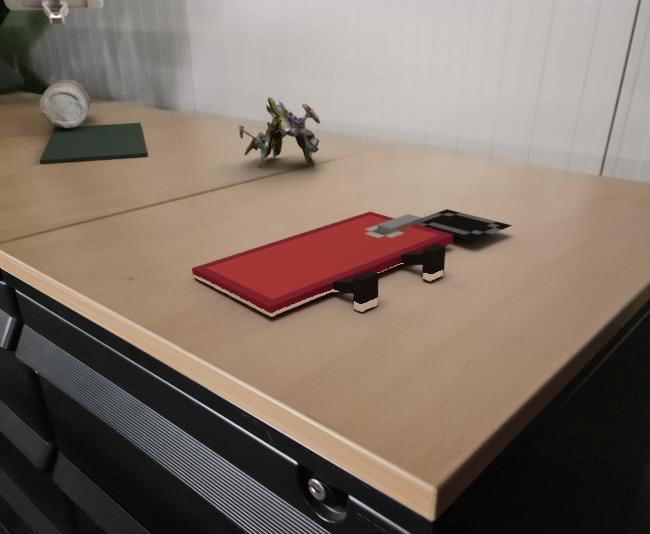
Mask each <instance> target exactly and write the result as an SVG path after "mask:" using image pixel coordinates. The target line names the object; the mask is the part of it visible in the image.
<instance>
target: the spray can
mask: <svg viewBox="0 0 650 534" xmlns="http://www.w3.org/2000/svg"><path fill="white" fill-rule="evenodd" d="M38 103H39V112H40V113H41V115H42V116H43V117H44V118H45V119H46V120H47V121H48V122H49V123H50V124H51V125H52V126H54V127H61V128H74V127H76V126H81V124H83V123H84V122H85V120H86V118H87V115H88V112H89V108H90V105H91V99H90V96H89V94H88V91H87V90H86V89H85V87H83V85H82V84H81V83H80V82H78V81H77V80H74V79H72V78H62V79H59V80H57V81H54V82H53V83H52V84H51V85H50V86H49V87H48V88H46V90H45V91H44V92H43V94H42V96H41V98H40V99H39V101H38Z"/></svg>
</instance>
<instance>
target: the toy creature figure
mask: <svg viewBox="0 0 650 534" xmlns="http://www.w3.org/2000/svg"><path fill="white" fill-rule="evenodd" d="M301 106H302V108H303V109H304V111H305V112H306V113H305V114H304V116H303V117H298V116H296V115H295V114H294V113H293V112H292V111H291V110H290V109H289V108H287V107H286V106H285V105H284V104H283V102H281V101H280V100H279V101H278V104H277V103H276V100H274V98H273V97H271V96H270V97H269V96H268V97H267V103H266V105H265V108H266V111H267V112H268V114H270V116H271V117H272V120H271V122H270V121H267V122H266V124H267V129H266V130H265V133H263V132H258V133H257V136H254V135H252V134H251V133H249V132H248V131H246V130H244V129H245V126H244V125H243V124H238V129H239V138H240V139H244V134H245V135H247V136H249V137H250V138H252V140H251V141H250V143H249V145H248V146H247V148H245V151H244V156H247V155H248V154H249V153H250V152H251V151H252V150H254V151H258V149H259V150H260V160H259V164H258V167H257V168H258V169H260V167H261V166H262V165H263V162H264V160H265V159H267V157H269V156H270V155H271V154H272V157H273V158H276V157H278V156H280V154H281V152H282V149H283V139H284V138H285V137H286V136H289V137H291V138H292V137H293V138H295V140H296V144H297V145H298V147H299V148H300V149H301V150H302V153H303V156H304V159H305V161H306V163H307V164H308V165H309V166H310V165H311V166H314V165H316V161H315V159H314V157H313V153H314V154H315V153H317V152H318V151H319V150H320V149H319V147H318V146H319V143H320V140H319V138H317V137H316V135H315V133H314V132H312V130H310V129H309V128H308V127H307V126H306V120H307V119H312V120H313V121H314V122H315V123H316V124H320V123H321V121H320V117H319V116H318V115H317V113H316V112H315V110H314V109H313V108H312V107H310V106H309V105H308V104H306V103H305V102H302V103H301Z"/></svg>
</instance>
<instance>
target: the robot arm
mask: <svg viewBox="0 0 650 534" xmlns="http://www.w3.org/2000/svg"><path fill="white" fill-rule="evenodd" d="M3 2H4V4H5V6H6V8H8V9H9V11H43V14H45V15H46V16H47V18H48V20H49V23H50V25H59V24H61V25H64V24H65V25H66V20H65V19H66V17H67V16H68V14H69V12H70V11H69V10H72V11H73V10H74V11H75V10H76V11H77V10H101V9H102V8H103V7H104V6H105V4H104V3H105V2H104V0H3Z"/></svg>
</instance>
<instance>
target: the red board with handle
mask: <svg viewBox="0 0 650 534" xmlns="http://www.w3.org/2000/svg"><path fill="white" fill-rule="evenodd" d="M512 226H513V225H512V224H509V223H505V222H501V221H497V220H493V219H489V218H484V217H480V216H476V215H472V214H469V213H463V212H460V211H456V210H451V209H448V208H446V209H444V210H440V211H437V212H435V213H432V214H429V215H426V216H423V217H420V216H417V215H414V214H413V215H412V214H409V213H407V214H404V215H402V216H401V215H400V216H399V217H396V218H394V217H392V216H388V215H383V214H381V213H376V212H374V211H367V212H364V213H360V214H358V215H354V216H350V217H348V218H345V219H342V220H339V221H335V222H332V223H329V224H327V225H323V226H320V227H317V228H314V229H310V230H308V231H304V232H301V233H298V234H293V235H292V236H288V237H285V238H282V239H279V240H275V241H272V242H269V243H267V244H263V245H260V246H256V247H254V248H251V249H247V250H245V251H241V252H238V253H235V254H231V255H227V256H225V257H223V258H219V259H216V260H213V261H210V262H207V263H204V264H200V265H197V266H193V267H191V272H192V275H193V274H194V275H196V276H198V277H201V278H203V279H205V280H207V281H209V282H211V283H212V284H215V285H217V286H219V287H221V288H222V289H225V290H227V291H229V292H230V293H233V294H235V295H237V296H239V297H240V298H242V299H244V300H246V301H249V302H251V303H252V304H254V305H256V306H257V307H259V308H261V309H264V310H265V311H267V312H269V313H273V312H275V311H277V310H280V309H282V308H284V307H288V306H290V305H292V304H295V303H297V302H300V301H302V300H305V299H307V298H310V297H313V296H315V295H318V294H321V293H324V292H327V291H330V290H332V289H334V290H337V291H339V292H342V293H341V294H351V295H352V302H353V301H355V302H357V303H359V304H363V303H366V302H368V301H370V300H373V299H375V298H377V297H378V298H379V274H378V273H377V272H381V271H383V270H385V269H389V268H390V267H393V266H395V265H397V264H400V263H404V264H407V265H406V266H422V268H421V273H422V272H423V273H428V274H434V273H436V272H438V271H441V270H444V271H445V263H446V248H447V246H446V245H448V244H451V243H453V241H454V237H456V238H457V237H458V238H461V239H465V240H468V241H472V242H477V241H479V240H482V239H484V238H486V237H488V236H491V235H493V234H496V233H498V232H500V231H501V232H502V230H505V229H508V228H510V227H512ZM451 245H452V244H451ZM448 246H449V245H448Z"/></svg>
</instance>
